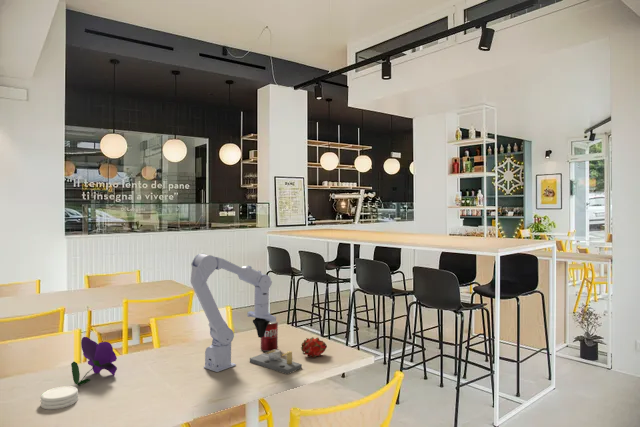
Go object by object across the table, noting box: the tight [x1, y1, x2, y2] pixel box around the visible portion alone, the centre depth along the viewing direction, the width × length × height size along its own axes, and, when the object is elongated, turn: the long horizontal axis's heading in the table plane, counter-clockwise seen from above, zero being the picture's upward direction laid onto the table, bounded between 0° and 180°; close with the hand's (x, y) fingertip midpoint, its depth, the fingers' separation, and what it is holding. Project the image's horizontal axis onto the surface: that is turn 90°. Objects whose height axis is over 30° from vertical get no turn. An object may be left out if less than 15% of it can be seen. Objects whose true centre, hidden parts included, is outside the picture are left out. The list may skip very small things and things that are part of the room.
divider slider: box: [266, 349, 282, 361], centre depth 172 cm, size 6×3×4 cm, turn 142°
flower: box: [70, 336, 118, 387], centre depth 153 cm, size 15×15×14 cm
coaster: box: [40, 385, 79, 411], centre depth 136 cm, size 10×10×4 cm
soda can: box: [260, 320, 279, 353], centre depth 189 cm, size 7×7×12 cm
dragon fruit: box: [300, 336, 328, 358], centre depth 182 cm, size 8×8×12 cm
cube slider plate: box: [249, 350, 303, 375], centre depth 171 cm, size 8×20×6 cm, turn 52°
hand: (261, 336), depth 178 cm, fingers closed
